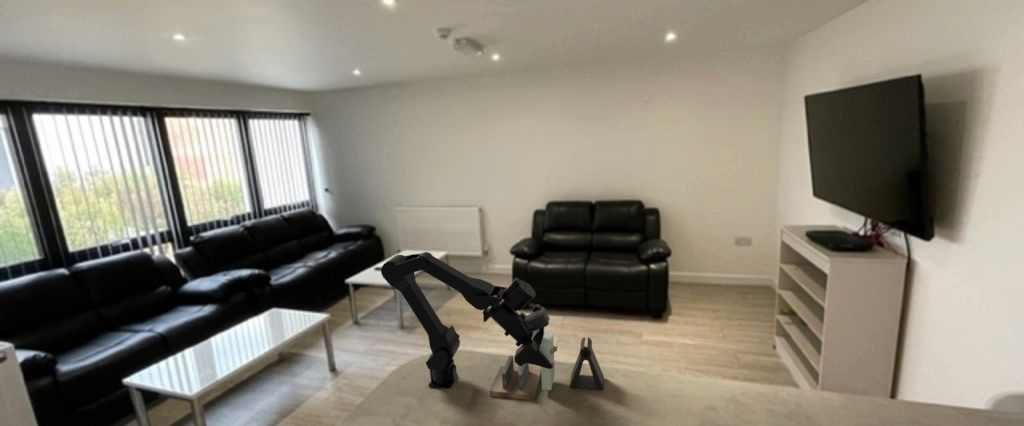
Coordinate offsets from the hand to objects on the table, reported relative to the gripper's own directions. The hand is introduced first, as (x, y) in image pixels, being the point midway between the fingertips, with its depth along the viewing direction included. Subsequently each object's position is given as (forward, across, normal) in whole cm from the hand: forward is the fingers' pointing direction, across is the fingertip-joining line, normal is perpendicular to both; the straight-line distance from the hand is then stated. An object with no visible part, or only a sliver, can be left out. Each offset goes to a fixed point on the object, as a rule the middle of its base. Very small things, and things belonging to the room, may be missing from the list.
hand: (552, 360), depth 113 cm
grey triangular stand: (+12, +3, 0) cm, 13 cm away
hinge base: (-2, 0, +13) cm, 13 cm away
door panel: (+4, 0, +6) cm, 7 cm away
